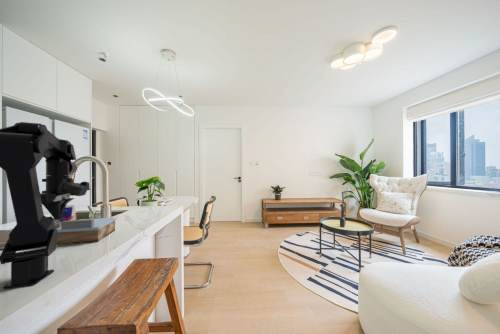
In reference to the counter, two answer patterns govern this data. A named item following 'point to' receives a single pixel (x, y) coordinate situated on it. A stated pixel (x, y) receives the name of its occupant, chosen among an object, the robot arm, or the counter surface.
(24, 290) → the counter surface
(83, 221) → the lid
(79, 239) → the box
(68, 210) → the energy drink
